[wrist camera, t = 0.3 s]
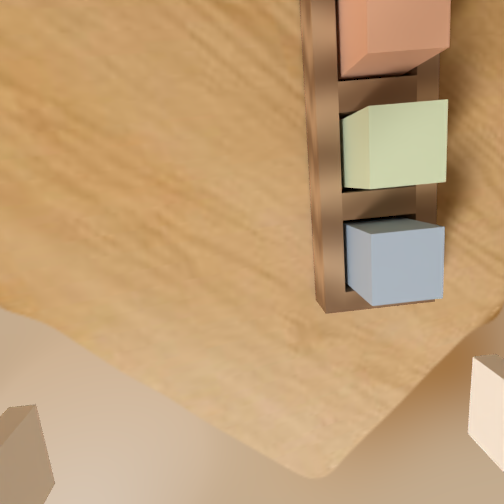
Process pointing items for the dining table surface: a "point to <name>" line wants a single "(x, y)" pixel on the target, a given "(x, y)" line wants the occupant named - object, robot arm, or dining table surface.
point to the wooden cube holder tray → (329, 161)
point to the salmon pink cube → (389, 35)
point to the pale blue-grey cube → (394, 260)
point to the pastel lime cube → (394, 145)
